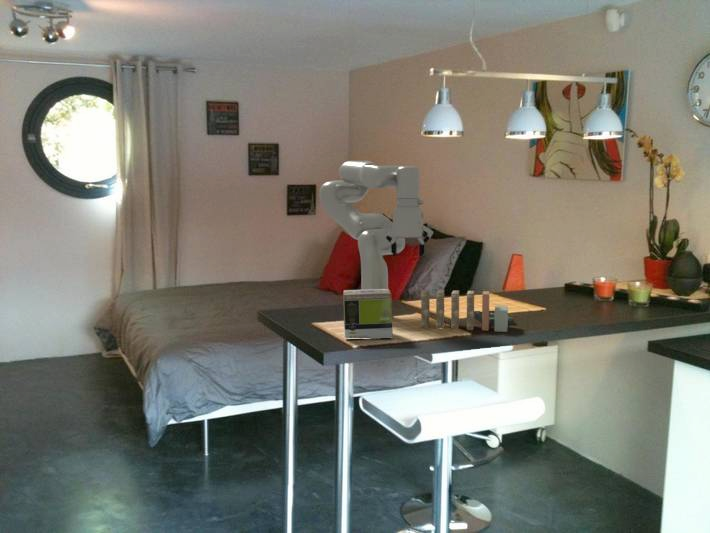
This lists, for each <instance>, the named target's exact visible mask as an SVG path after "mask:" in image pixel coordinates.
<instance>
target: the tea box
mask: <svg viewBox="0 0 710 533" xmlns="http://www.w3.org/2000/svg"><path fill="white" fill-rule="evenodd" d="M342 292H343V297H342V298H343V324H344V325H343V327H344V337H345V338H391V340H392V339H393V337H394V336H393V334H394V333H393V316H392V314H393V306H392V302H393V300H392V293H391V291H390V288H388V289H365V290H362V289H344V290H343V291H342Z"/></svg>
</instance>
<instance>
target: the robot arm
mask: <svg viewBox="0 0 710 533" xmlns="http://www.w3.org/2000/svg"><path fill="white" fill-rule="evenodd" d="M338 175H339V178H340V179H341V180H331V181H327V182H324V183H323V184H322V185H321V186H320V188H319V192H318V193H319V194H318V195H319V201H320V204H321V207H322V208H323V211H325V213H326V214H327V215H328V216H329V217H331V218H332V219H333V220H334V221H335V222H337V223H338V224H339V225H340V227H341V228H342V229H343V230H344V231H345V232H346V233H347V234H348V235H349V236H350V237H351V238H353V239H354V240H357V246H358V251H359V256H360V270H361V271H360V275H361V280H360V281H361V290H365V289H389V271H388V265H387V262H386V260H385V259H384V256H388V255H392V256H393V257H396V256H397V254H400V253H401V252H402V251H403V250H404V249H405V246H406V239H417V240H418V241H419V248H418V249H419V250H418V251H419V253H418V254H419V255H418V256H419V257H423V255H425V244H426V243H427V242H428V241H430V239H431V238H432V236H433V235H434V231H433V230H431V229H430V228H429V227H427V226H426V225H424V213H423V208H422V207H420V206H421V205H425V204H424V203H425V202H424V201H425V200H422V199H421V198H420V168H419V167H418V166H413V165H412V166H411V165H407V166H406V165H405V166H404V165H377V164H375V163H374V162H373V161H372V160H371V161H370V160H348V161H345V162H343V163H342V164H341V165H340V166H339V169H338ZM370 189H396V207H394V210H393V215H392V216H393V218H392V220H390V219H389V217H387V216H386V215H384V214H381V213H378V212H377V213H376V212H375V213H374V212H371V213H363V212H360V211H359V210H358V209H357V208H356V207H354V205H352V204H350V203H357V202H360V201H362V200H363V199H364V198H365V197H366V195H367V193H368V192H369V191H370ZM424 232H426V233H427V235H426V236H425V238H424V237H423V236H424V234H425V233H424ZM392 317H393V313H392Z"/></svg>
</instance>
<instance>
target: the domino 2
mask: <svg viewBox="0 0 710 533" xmlns="http://www.w3.org/2000/svg"><path fill="white" fill-rule="evenodd" d="M435 294H436V295H435V303H436V304H435V305H436V306H435V310H436V312H435V319H436V320H435V321H436V322H435V323H436V324H435V326H436V328H444V327H445V290H444V289H438V290H437V291H436V293H435ZM443 326H444V327H443Z"/></svg>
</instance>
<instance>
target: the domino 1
mask: <svg viewBox="0 0 710 533" xmlns="http://www.w3.org/2000/svg"><path fill="white" fill-rule="evenodd" d="M430 295H431V294H430V289H423V290H422V291H421V292H420V304H421V306H420V307H421V308H420V311H421V312H420V313H421V314H420V316H421V318H420V319H421V321H420V322H421V323H420V328H421V329H428V328H429V326H430V324H431V322H430V319H431V318H430V314H431V313H430V304H431V302H430V298H431V297H430Z"/></svg>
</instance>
